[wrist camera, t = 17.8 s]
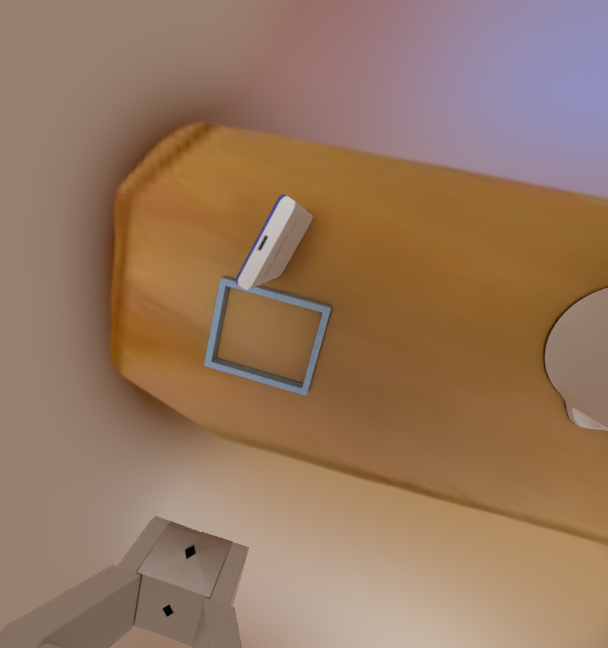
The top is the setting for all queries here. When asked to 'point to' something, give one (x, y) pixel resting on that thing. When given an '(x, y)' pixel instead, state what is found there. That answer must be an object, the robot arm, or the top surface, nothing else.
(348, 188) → the top surface
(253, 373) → the frame
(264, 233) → the hard drive
